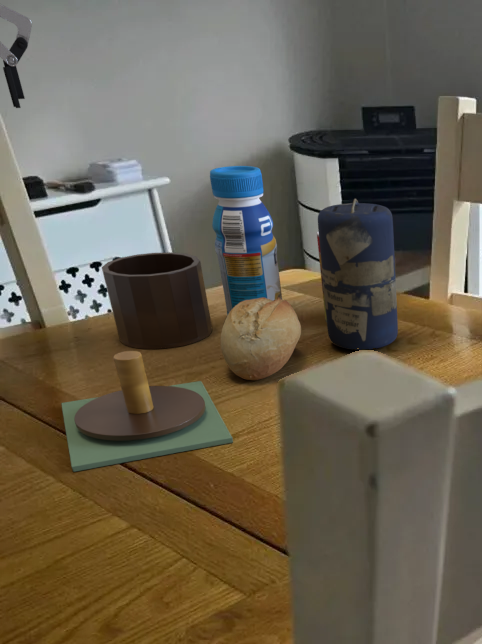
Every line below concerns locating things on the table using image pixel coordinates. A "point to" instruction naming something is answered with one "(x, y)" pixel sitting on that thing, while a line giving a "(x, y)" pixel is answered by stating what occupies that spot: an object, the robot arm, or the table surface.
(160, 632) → the table surface
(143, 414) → the lid
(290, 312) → the bread roll
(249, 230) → the beverage bottle
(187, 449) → the mat
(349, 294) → the blue pillar candle
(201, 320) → the basket
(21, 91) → the robot arm
